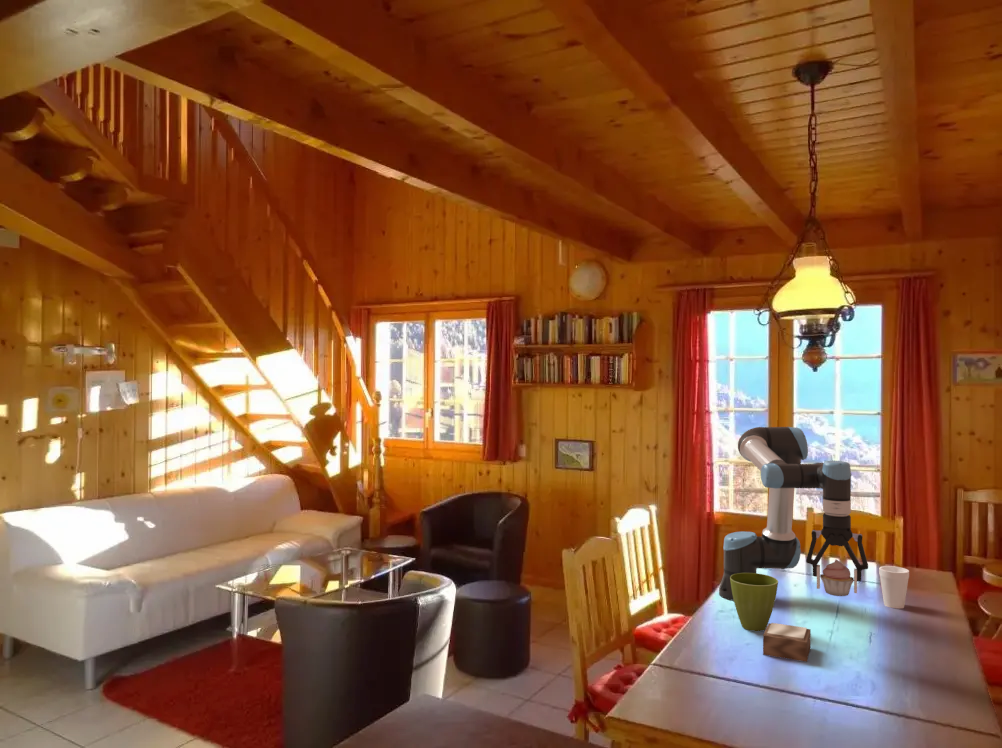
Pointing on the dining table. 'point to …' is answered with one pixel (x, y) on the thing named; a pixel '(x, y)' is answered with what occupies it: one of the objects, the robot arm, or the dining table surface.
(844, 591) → the cupcake
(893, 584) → the foam cup
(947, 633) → the dining table surface
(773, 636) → the walnut base
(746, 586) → the flower pot
